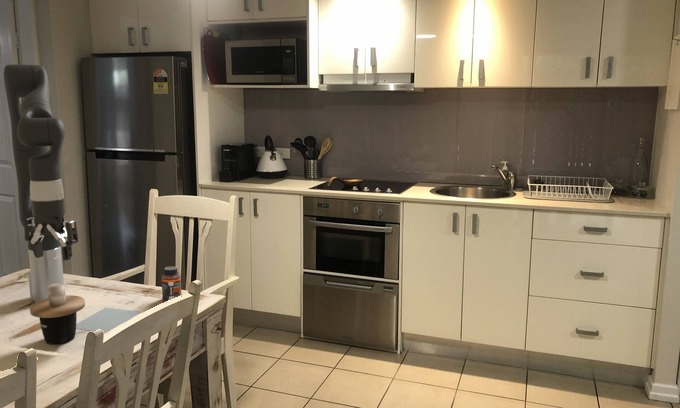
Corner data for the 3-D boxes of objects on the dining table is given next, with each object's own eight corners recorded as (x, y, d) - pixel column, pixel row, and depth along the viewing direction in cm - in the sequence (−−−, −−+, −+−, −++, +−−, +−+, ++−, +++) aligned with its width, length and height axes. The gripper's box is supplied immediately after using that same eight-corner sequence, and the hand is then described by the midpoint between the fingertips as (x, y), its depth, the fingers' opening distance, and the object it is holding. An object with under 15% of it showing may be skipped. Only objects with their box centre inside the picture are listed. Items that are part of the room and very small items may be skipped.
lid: (18, 315, 144) (15, 292, 143) (54, 297, 157) (52, 276, 156) (62, 319, 142) (60, 296, 140) (95, 301, 154) (93, 280, 153)
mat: (69, 330, 160) (69, 327, 160) (105, 310, 175) (105, 307, 175) (118, 336, 156) (118, 333, 156) (151, 315, 171) (151, 312, 171)
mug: (39, 339, 154) (36, 304, 152) (75, 332, 159) (72, 298, 157) (45, 356, 144) (42, 319, 142) (83, 348, 149) (80, 311, 147)
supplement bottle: (176, 305, 179) (174, 271, 177) (159, 304, 180) (157, 270, 178) (185, 299, 185) (183, 265, 183) (168, 297, 186) (166, 264, 184)
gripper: (12, 198, 142) (19, 260, 145) (60, 201, 138) (66, 264, 141) (35, 193, 149) (40, 252, 152) (81, 196, 145) (86, 256, 148)
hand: (53, 258), depth 147 cm, fingers open, 8 cm apart
